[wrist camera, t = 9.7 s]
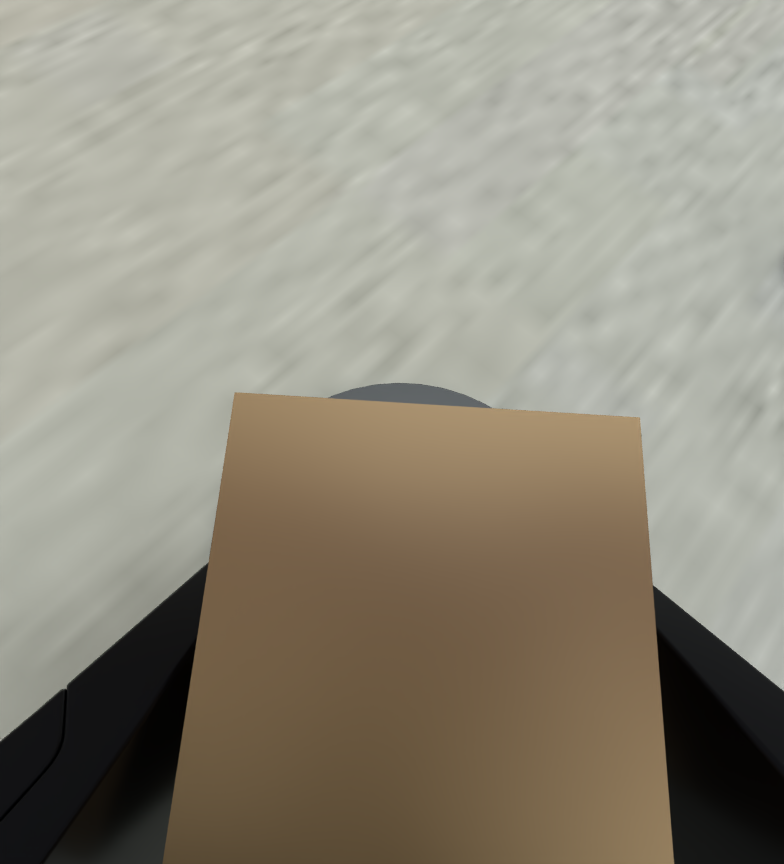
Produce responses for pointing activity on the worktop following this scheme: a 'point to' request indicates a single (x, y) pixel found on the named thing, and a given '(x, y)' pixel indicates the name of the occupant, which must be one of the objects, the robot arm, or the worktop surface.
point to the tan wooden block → (425, 643)
